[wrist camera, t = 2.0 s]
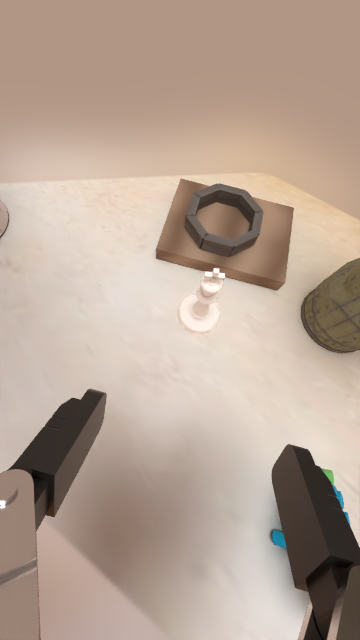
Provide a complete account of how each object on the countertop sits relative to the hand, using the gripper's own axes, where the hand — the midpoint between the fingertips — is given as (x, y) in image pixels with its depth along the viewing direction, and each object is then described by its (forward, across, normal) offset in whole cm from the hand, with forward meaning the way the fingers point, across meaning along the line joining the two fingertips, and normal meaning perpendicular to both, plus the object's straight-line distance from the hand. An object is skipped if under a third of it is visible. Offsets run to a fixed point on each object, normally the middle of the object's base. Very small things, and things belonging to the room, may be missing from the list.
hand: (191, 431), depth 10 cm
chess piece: (+19, 0, +3) cm, 19 cm away
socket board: (+28, -1, -6) cm, 28 cm away
